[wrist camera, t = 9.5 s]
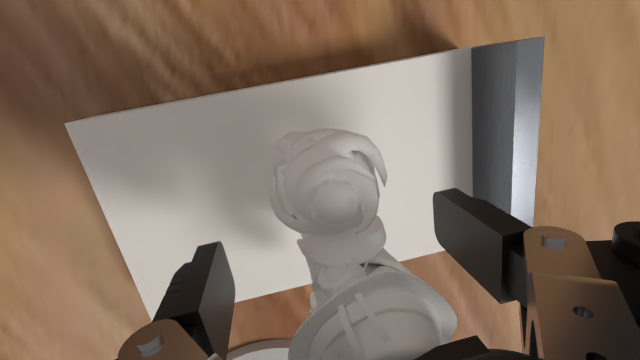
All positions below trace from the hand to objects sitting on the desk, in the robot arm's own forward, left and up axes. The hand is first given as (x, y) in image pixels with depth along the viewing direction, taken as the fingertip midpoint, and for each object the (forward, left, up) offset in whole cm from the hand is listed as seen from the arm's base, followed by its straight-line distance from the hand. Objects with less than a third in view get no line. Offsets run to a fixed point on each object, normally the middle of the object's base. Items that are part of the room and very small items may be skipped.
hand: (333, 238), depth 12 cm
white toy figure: (0, 0, -5) cm, 5 cm away
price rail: (0, -9, -5) cm, 11 cm away
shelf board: (0, 0, -8) cm, 8 cm away
